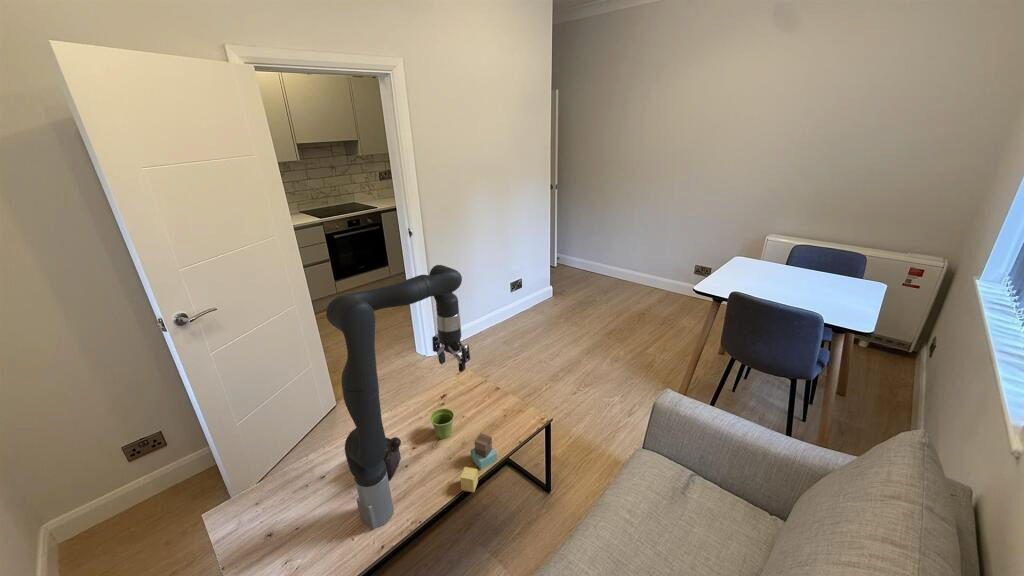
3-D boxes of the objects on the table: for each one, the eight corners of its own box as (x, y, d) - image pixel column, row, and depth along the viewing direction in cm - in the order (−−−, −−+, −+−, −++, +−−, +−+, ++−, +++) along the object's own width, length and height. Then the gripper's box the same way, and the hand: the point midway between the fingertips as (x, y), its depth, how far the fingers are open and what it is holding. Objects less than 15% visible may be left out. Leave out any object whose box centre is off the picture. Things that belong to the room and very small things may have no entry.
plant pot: (453, 442, 159) (452, 424, 155) (429, 442, 159) (427, 424, 156) (457, 425, 168) (455, 408, 164) (434, 425, 168) (432, 408, 164)
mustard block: (473, 492, 138) (473, 479, 136) (461, 490, 139) (460, 477, 137) (477, 481, 142) (477, 469, 140) (465, 479, 143) (464, 466, 141)
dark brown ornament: (361, 479, 143) (352, 440, 136) (374, 455, 153) (367, 417, 146) (404, 484, 142) (397, 444, 134) (414, 459, 152) (409, 421, 144)
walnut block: (486, 457, 147) (485, 445, 145) (475, 453, 149) (474, 441, 146) (492, 449, 151) (491, 436, 148) (481, 445, 153) (480, 432, 150)
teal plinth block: (481, 470, 147) (480, 462, 145) (470, 458, 152) (470, 450, 151) (497, 461, 151) (496, 453, 149) (486, 449, 156) (486, 441, 154)
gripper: (424, 324, 134) (429, 365, 140) (458, 336, 126) (461, 379, 133) (440, 315, 139) (443, 355, 146) (473, 325, 132) (475, 367, 139)
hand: (452, 366), depth 139 cm, fingers open, 8 cm apart
